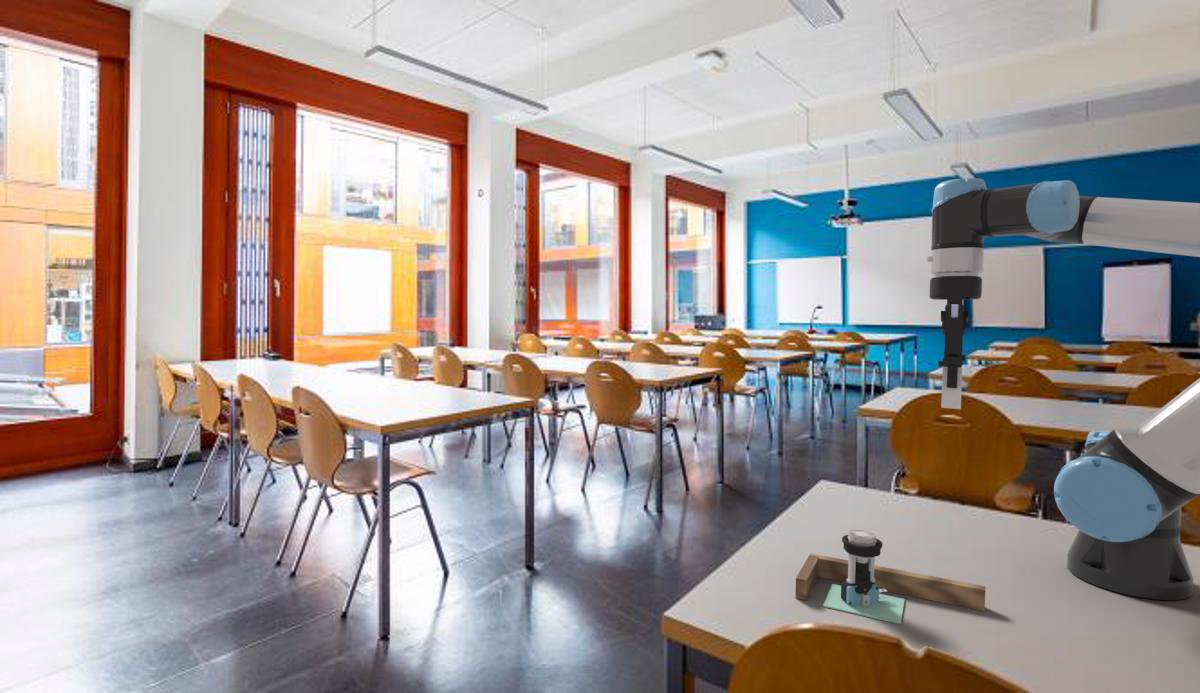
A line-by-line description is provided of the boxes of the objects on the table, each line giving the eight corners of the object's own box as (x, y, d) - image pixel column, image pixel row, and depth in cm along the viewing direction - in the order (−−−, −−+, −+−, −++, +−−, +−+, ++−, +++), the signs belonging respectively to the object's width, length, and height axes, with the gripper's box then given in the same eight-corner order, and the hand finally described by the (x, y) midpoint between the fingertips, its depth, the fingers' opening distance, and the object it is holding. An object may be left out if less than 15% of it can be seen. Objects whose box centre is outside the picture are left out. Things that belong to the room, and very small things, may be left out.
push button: (875, 592, 93) (877, 526, 92) (897, 609, 88) (899, 539, 87) (833, 594, 92) (835, 528, 91) (852, 612, 87) (854, 541, 86)
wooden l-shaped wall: (984, 606, 89) (984, 586, 89) (987, 641, 79) (988, 618, 79) (809, 571, 101) (810, 553, 100) (795, 598, 91) (795, 578, 91)
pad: (904, 600, 91) (904, 598, 91) (900, 624, 84) (900, 622, 84) (832, 585, 96) (832, 583, 96) (823, 606, 89) (823, 605, 89)
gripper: (932, 279, 116) (928, 392, 117) (927, 272, 94) (922, 411, 95) (979, 278, 112) (974, 395, 113) (985, 270, 90) (980, 415, 92)
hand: (951, 403), depth 104 cm, fingers open, 13 cm apart
